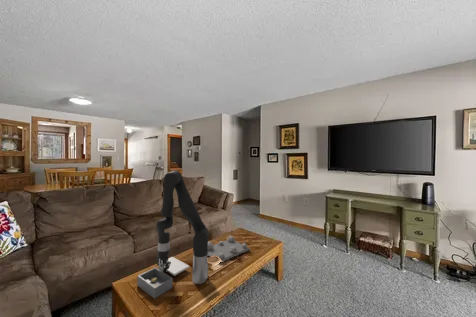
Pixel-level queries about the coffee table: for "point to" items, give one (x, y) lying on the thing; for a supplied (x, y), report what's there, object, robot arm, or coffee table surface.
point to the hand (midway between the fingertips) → (162, 273)
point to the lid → (175, 266)
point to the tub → (154, 282)
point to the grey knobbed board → (227, 249)
